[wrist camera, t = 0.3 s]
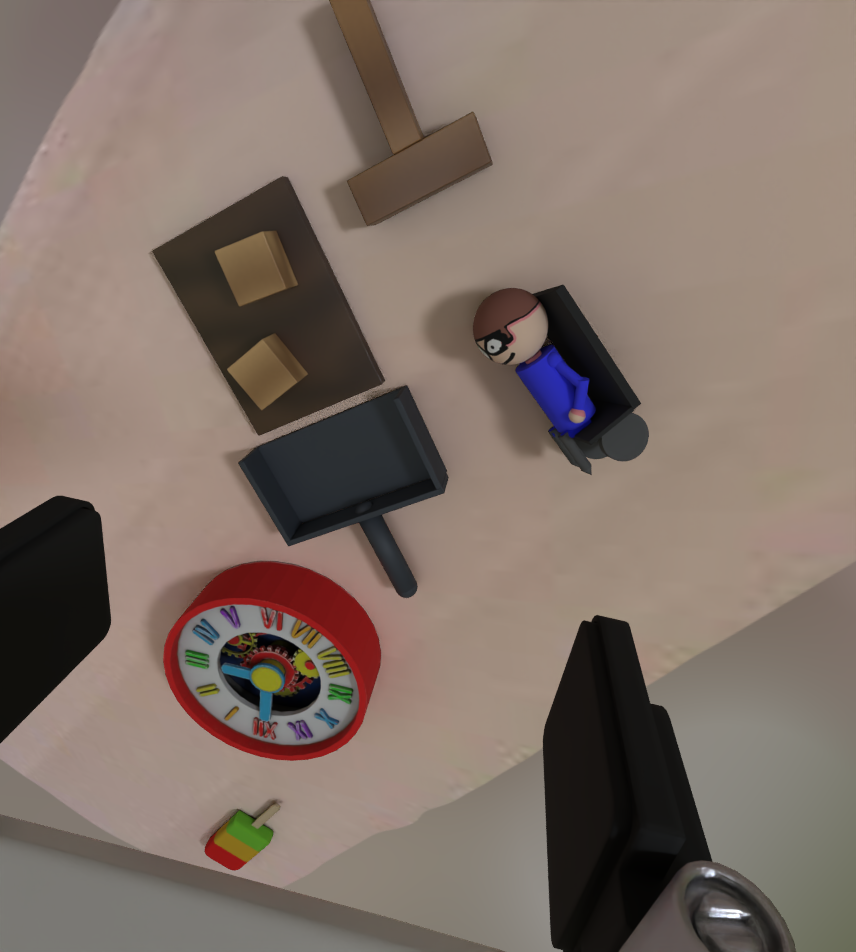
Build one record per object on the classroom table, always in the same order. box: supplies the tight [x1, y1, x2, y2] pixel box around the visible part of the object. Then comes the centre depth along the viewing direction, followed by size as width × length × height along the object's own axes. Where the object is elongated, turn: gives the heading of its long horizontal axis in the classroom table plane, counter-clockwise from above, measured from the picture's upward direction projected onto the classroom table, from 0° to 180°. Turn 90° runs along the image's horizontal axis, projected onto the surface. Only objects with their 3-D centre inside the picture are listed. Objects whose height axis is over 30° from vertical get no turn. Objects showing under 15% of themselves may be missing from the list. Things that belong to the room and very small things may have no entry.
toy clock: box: [163, 561, 381, 761], centre depth 57 cm, size 20×6×20 cm
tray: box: [152, 176, 385, 435], centre depth 45 cm, size 16×12×1 cm
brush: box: [329, 0, 493, 226], centre depth 37 cm, size 12×9×3 cm
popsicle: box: [205, 804, 280, 870], centre depth 72 cm, size 6×15×2 cm, turn 142°
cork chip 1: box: [215, 231, 298, 306], centre depth 42 cm, size 4×4×2 cm
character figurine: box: [473, 285, 649, 475], centre depth 40 cm, size 8×7×15 cm
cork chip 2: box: [227, 333, 308, 410], centre depth 45 cm, size 4×4×2 cm
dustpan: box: [238, 385, 448, 598], centre depth 49 cm, size 18×15×3 cm
